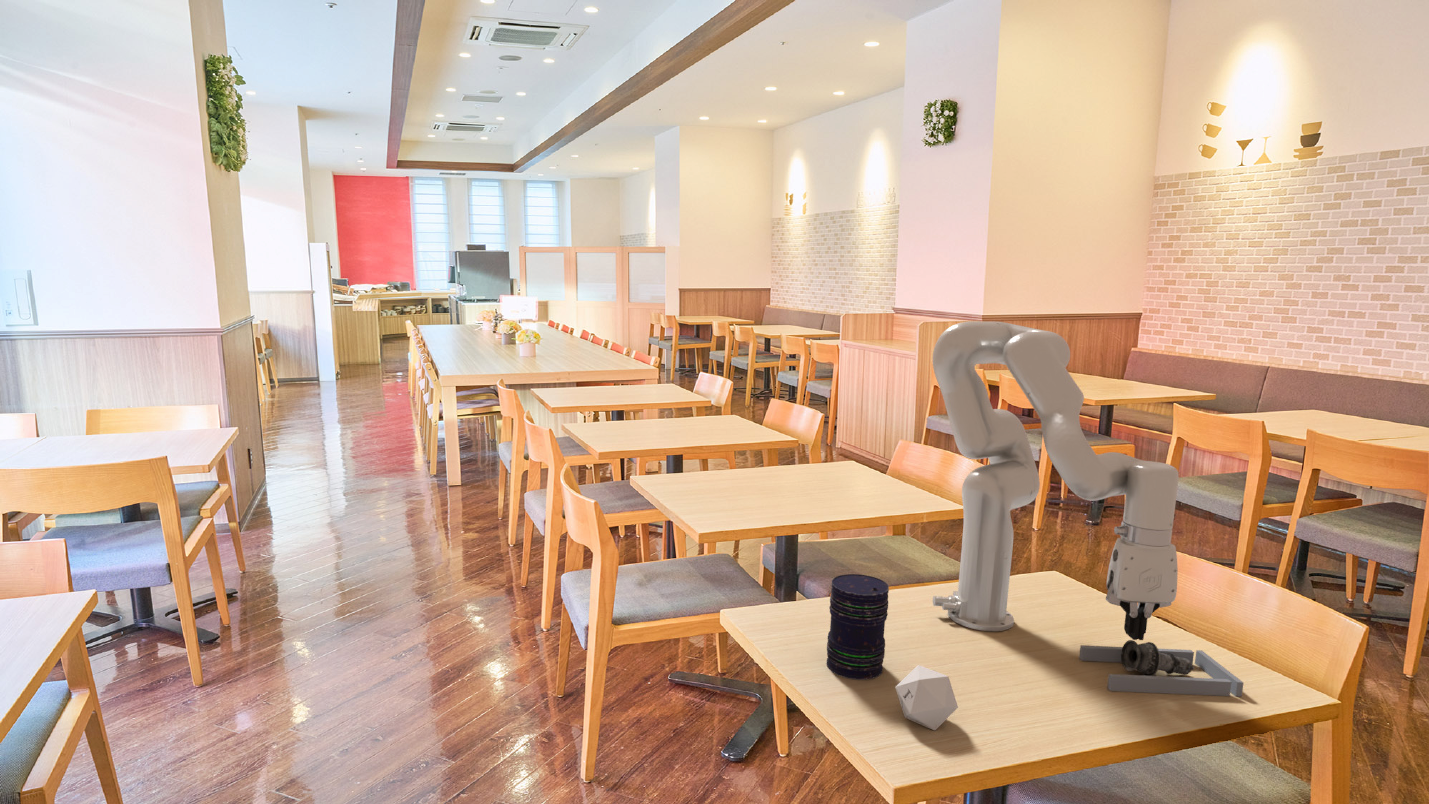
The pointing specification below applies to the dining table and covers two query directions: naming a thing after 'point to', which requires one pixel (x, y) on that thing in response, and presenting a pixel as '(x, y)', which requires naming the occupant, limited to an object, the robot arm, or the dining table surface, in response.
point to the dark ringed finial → (1152, 660)
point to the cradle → (1173, 685)
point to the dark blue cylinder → (857, 626)
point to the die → (926, 697)
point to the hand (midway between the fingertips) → (1134, 636)
